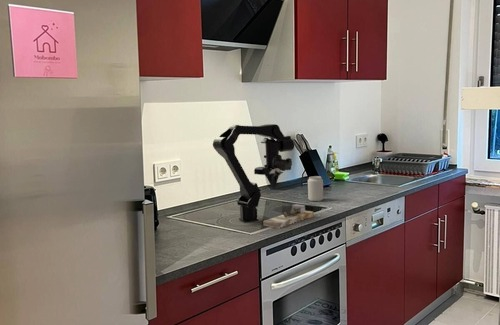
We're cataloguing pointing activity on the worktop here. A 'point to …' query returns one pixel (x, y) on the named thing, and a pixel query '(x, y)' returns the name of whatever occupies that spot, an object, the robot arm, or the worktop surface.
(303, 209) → the keeper
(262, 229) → the worktop surface
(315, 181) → the can
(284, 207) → the bolt
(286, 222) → the door jamb
